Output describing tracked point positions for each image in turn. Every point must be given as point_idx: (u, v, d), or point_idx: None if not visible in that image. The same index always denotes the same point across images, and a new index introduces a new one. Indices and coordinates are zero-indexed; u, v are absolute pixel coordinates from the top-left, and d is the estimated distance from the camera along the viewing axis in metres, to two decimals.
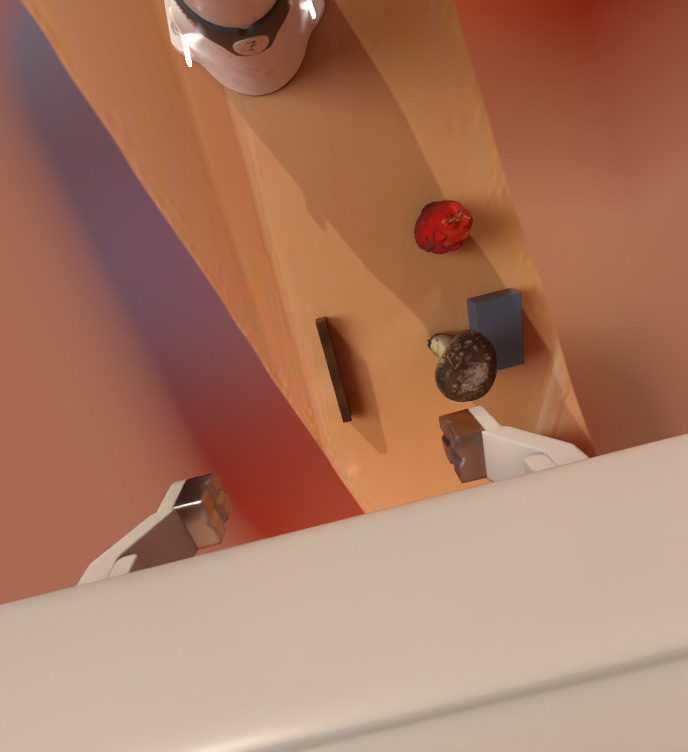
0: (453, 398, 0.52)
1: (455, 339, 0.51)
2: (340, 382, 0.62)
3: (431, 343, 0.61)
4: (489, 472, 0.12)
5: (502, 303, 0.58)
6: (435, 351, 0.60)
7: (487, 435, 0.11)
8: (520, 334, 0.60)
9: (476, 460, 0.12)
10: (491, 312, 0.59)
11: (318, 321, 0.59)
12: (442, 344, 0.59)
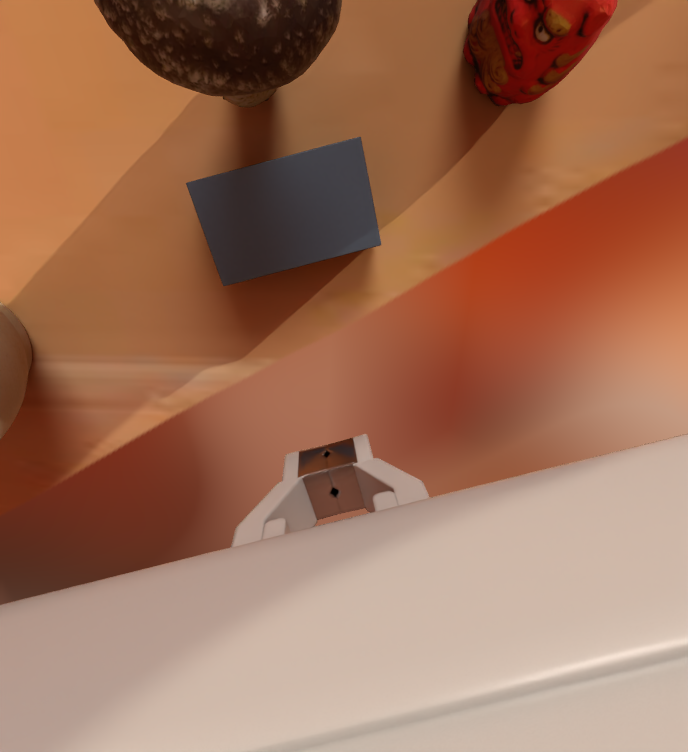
0: None
1: None
2: None
3: None
4: (365, 503, 0.12)
5: (358, 207, 0.27)
6: None
7: (357, 468, 0.11)
8: (289, 263, 0.28)
9: (352, 491, 0.12)
10: (339, 182, 0.26)
11: None
12: None
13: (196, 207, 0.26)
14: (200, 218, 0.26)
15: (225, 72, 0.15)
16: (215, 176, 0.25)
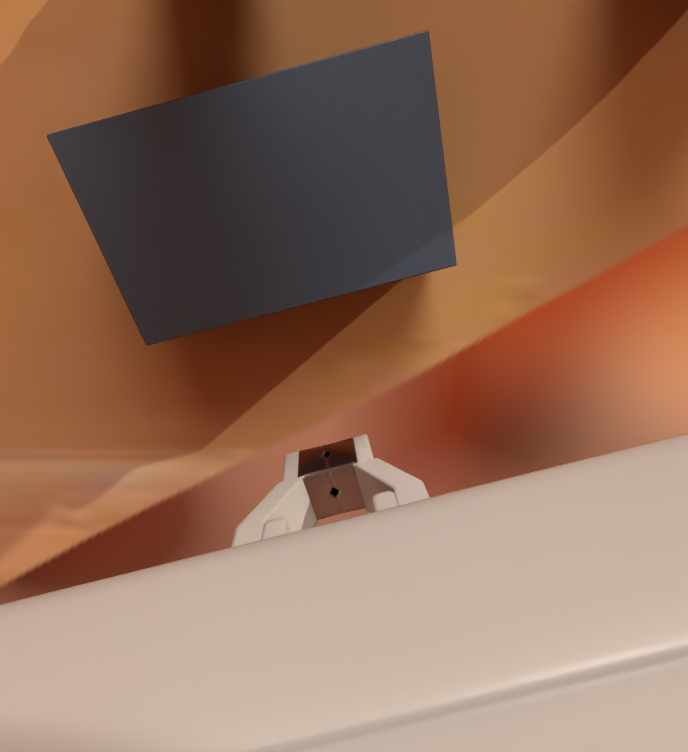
0: None
1: None
2: None
3: None
4: (365, 503, 0.12)
5: (416, 188, 0.13)
6: None
7: (357, 468, 0.11)
8: (275, 301, 0.14)
9: (352, 491, 0.12)
10: (377, 135, 0.12)
11: None
12: None
13: (75, 189, 0.12)
14: (86, 212, 0.12)
15: None
16: (109, 120, 0.12)
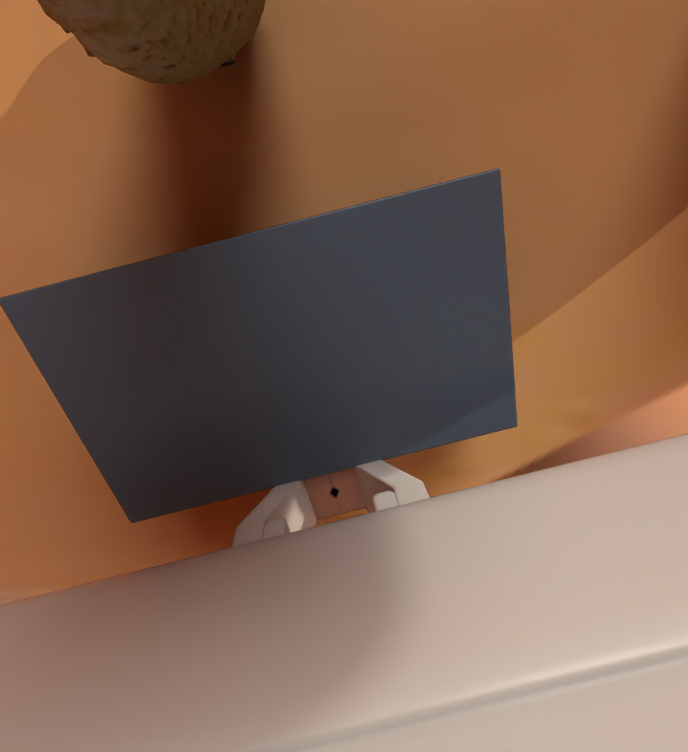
0: None
1: None
2: None
3: None
4: (365, 503, 0.12)
5: (473, 347, 0.10)
6: None
7: (357, 468, 0.11)
8: (293, 472, 0.11)
9: (352, 491, 0.12)
10: (428, 290, 0.10)
11: None
12: None
13: (37, 359, 0.09)
14: (52, 384, 0.10)
15: None
16: (81, 280, 0.09)
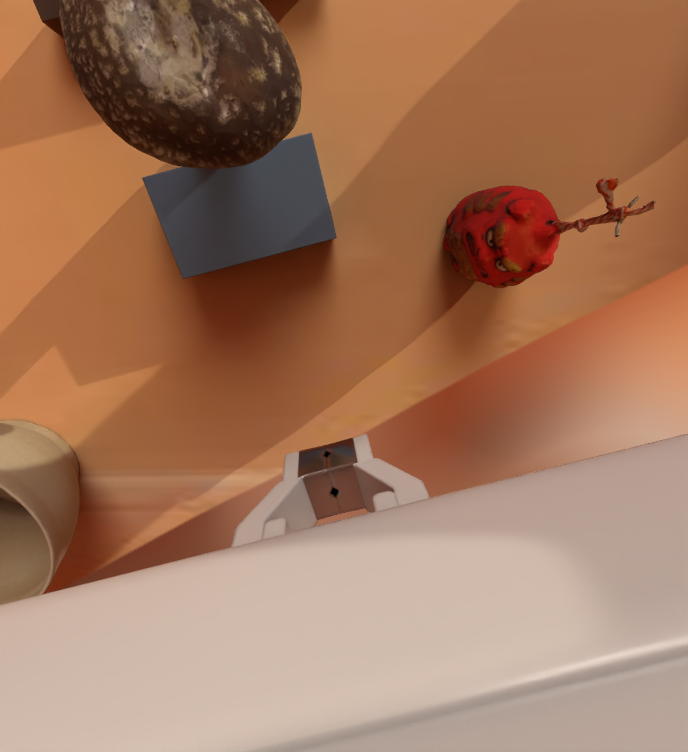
0: None
1: None
2: None
3: None
4: (365, 503, 0.12)
5: (312, 201, 0.28)
6: None
7: (357, 468, 0.11)
8: (247, 256, 0.29)
9: (352, 491, 0.12)
10: (292, 177, 0.27)
11: None
12: None
13: (153, 201, 0.27)
14: (157, 212, 0.27)
15: (187, 152, 0.17)
16: (170, 171, 0.26)
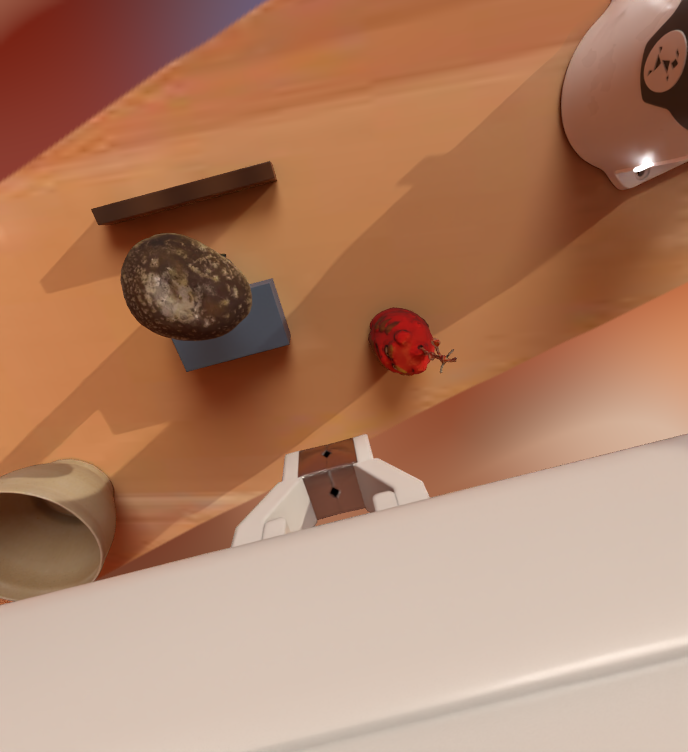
0: (127, 261, 0.28)
1: (239, 273, 0.31)
2: (169, 203, 0.37)
3: (220, 256, 0.39)
4: (365, 503, 0.12)
5: (271, 322, 0.41)
6: None
7: (357, 468, 0.11)
8: (229, 357, 0.43)
9: (352, 491, 0.12)
10: (257, 309, 0.41)
11: (272, 166, 0.37)
12: None
13: None
14: None
15: (187, 337, 0.31)
16: None
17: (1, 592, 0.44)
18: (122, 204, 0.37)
